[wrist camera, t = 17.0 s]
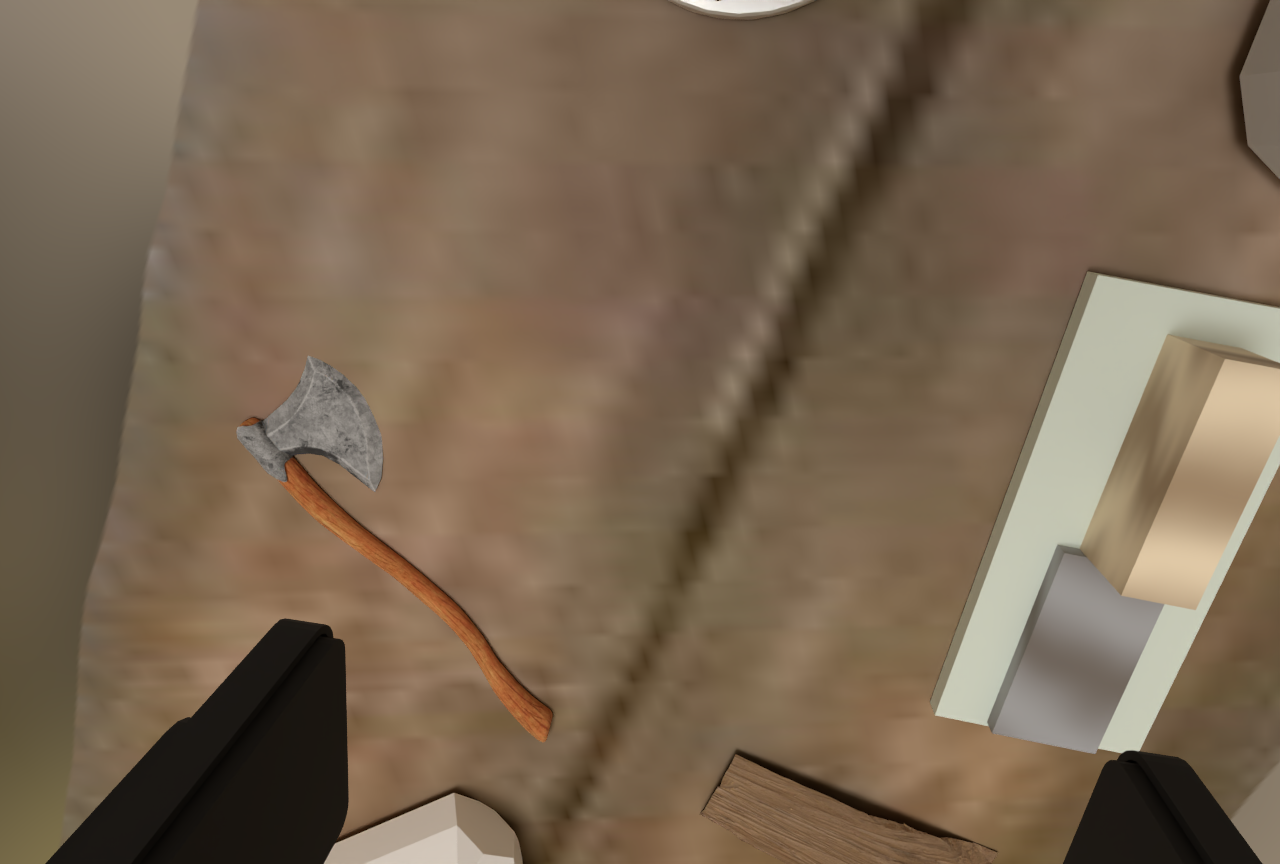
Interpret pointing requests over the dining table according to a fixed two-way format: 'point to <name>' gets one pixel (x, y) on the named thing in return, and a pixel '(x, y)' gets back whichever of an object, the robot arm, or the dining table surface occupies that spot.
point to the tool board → (1093, 489)
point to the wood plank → (822, 825)
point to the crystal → (434, 837)
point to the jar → (1264, 90)
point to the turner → (1143, 540)
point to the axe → (348, 434)
